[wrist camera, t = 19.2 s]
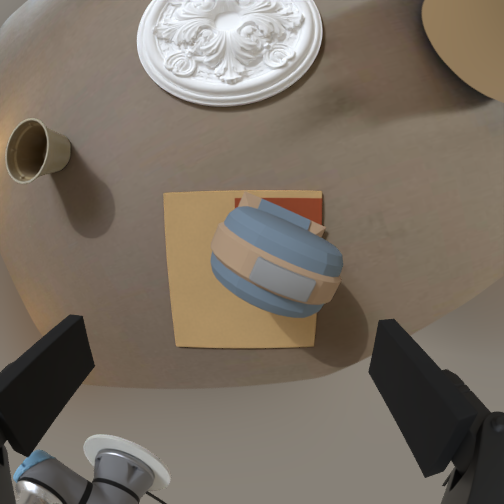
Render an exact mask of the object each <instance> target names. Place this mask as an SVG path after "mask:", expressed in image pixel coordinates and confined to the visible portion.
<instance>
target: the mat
mask: <svg viewBox="0 0 504 504" xmlns="http://www.w3.org/2000/svg"><path fill="white" fill-rule="evenodd" d="M244 191H246V192H248V193H250V194H253V195H255V196H257V197H260V198H262V199H264V200H267V201H269V202H271V203H273V204H276V205H278V206H280V207H282V208H285V209H287V210H289V211H291V212H294V213H296V214H298V215H300V216H302V217H305V218H307V219H309V220H311V221H313V222H315V223H318V224H320V225H322V191H298V190H238V191H198V192H173V193H164V219H165V237H166V252H167V265H168V277H169V288H170V298H171V307H172V316H173V325H174V333H175V341H176V346H179V347H203V348H287V347H311V346H314V340H315V329H316V317H317V313H315V314H313V315H311V316H308V317H305V318H292V317H286V316H281V315H277V314H274V313H271V312H268V311H265V310H262V309H260V308H258V307H256V306H253V305H251V304H249V303H248V302H246V301H244V300H242V299H241V298H239V297H237V296H236V295H235V294H233V293H232V292H231V291H229V290H228V289H227V288H226V287H224V286H223V285H222V284H221V283H220V282H219V281H218V279H217V278H216V277H215V275H214V273H213V272H212V267H211V254H212V249H211V241H212V239H213V236H214V234H215V231H216V229H217V227H218V224H219V223H221V222H224V221H225V219H226V217H227V216H228V214H229V213H230V212H231V211H233V210H234V209H235V208H237V207H238V205H239V203H240V201H241V198H242V196H243V194H244Z"/></svg>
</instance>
